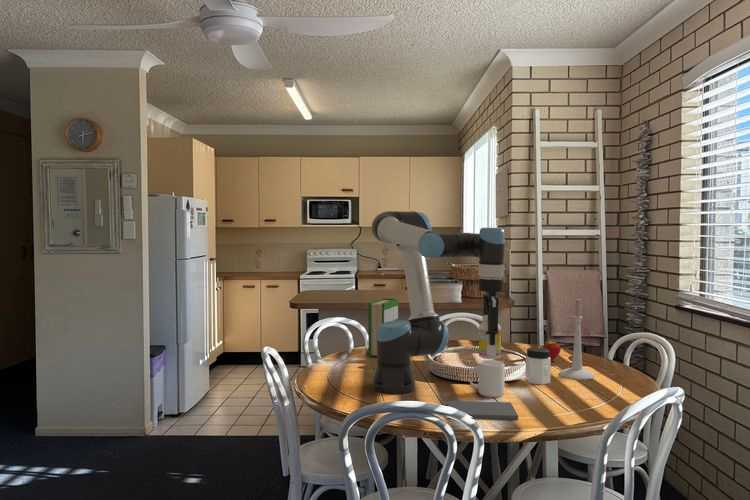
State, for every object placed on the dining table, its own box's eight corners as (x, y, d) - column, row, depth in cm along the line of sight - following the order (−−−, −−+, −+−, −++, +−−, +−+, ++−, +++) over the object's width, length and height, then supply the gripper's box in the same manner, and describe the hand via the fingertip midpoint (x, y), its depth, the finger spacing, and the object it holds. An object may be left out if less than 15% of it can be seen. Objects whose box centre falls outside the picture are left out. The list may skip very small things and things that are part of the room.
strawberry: (561, 363, 240) (562, 339, 240) (543, 362, 241) (543, 338, 241) (559, 359, 246) (559, 336, 246) (541, 359, 247) (541, 336, 247)
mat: (450, 417, 170) (450, 413, 170) (447, 404, 183) (447, 400, 183) (518, 419, 168) (518, 415, 168) (510, 406, 181) (510, 402, 181)
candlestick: (570, 380, 212) (571, 300, 211) (553, 372, 225) (554, 296, 224) (601, 379, 215) (603, 299, 213) (582, 370, 227) (584, 296, 226)
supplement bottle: (497, 354, 179) (498, 314, 178) (503, 359, 172) (504, 317, 172) (476, 354, 179) (477, 313, 178) (481, 359, 172) (482, 317, 171)
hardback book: (383, 358, 248) (384, 303, 247) (368, 356, 251) (368, 302, 250) (397, 350, 265) (398, 298, 264) (383, 349, 267) (383, 298, 267)
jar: (538, 386, 205) (538, 352, 204) (521, 380, 212) (521, 348, 211) (554, 382, 210) (555, 350, 209) (537, 377, 217) (537, 346, 216)
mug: (470, 388, 201) (470, 358, 201) (504, 391, 198) (505, 360, 197) (467, 395, 193) (467, 364, 192) (503, 398, 190) (503, 366, 189)
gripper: (509, 281, 164) (507, 360, 166) (497, 275, 184) (496, 345, 185) (483, 281, 165) (481, 359, 166) (474, 274, 184) (473, 345, 185)
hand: (489, 352), depth 175 cm, fingers closed on supplement bottle, 7 cm apart
